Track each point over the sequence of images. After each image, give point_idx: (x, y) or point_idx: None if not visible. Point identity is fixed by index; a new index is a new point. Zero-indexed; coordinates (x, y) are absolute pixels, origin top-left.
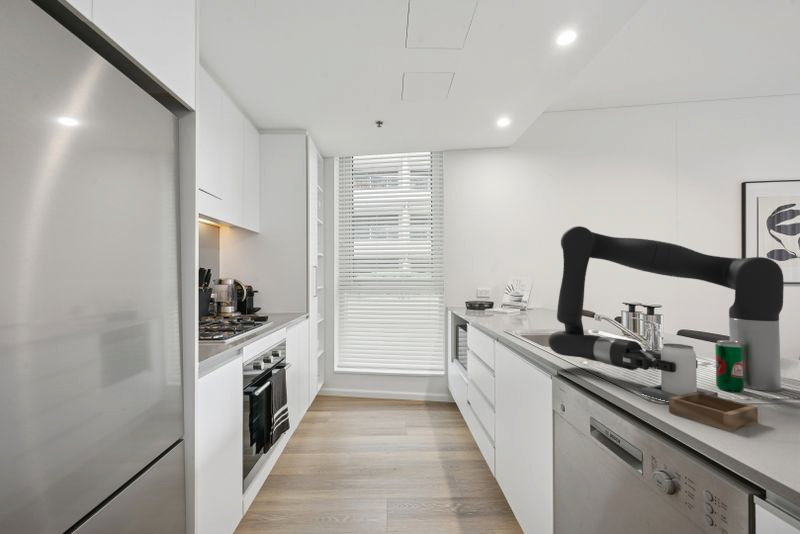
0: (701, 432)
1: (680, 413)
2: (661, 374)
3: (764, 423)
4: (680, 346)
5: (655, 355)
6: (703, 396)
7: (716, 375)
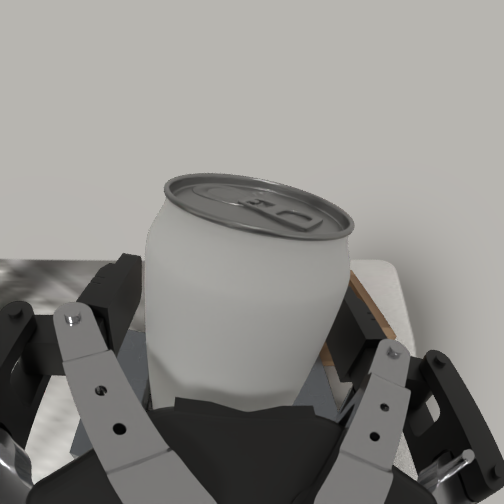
0: (387, 309)
1: None
2: None
3: None
4: (218, 199)
5: (245, 420)
6: None
7: None
